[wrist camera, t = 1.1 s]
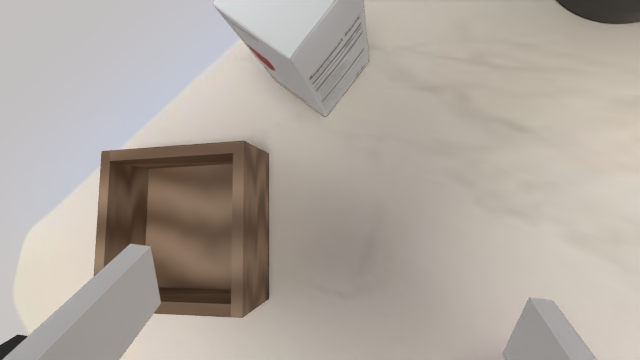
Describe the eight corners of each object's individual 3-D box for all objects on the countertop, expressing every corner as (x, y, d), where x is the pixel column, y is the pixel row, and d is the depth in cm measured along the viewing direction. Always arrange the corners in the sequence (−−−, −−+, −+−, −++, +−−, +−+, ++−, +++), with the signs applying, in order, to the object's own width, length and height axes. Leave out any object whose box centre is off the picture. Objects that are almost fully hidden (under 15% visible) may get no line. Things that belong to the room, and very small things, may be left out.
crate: (147, 161, 43) (101, 151, 36) (268, 153, 39) (244, 140, 32) (140, 294, 40) (91, 310, 34) (268, 299, 37) (242, 317, 30)
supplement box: (271, 79, 40) (207, 2, 26) (315, 23, 40) (274, -88, 25) (325, 120, 38) (288, 61, 24) (372, 61, 38) (363, -36, 23)
